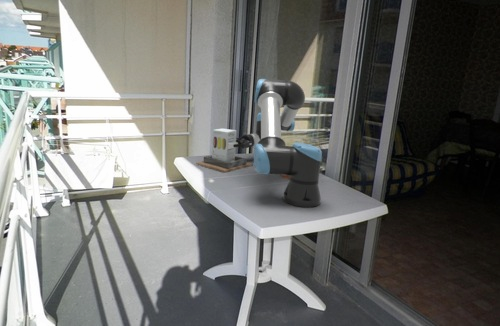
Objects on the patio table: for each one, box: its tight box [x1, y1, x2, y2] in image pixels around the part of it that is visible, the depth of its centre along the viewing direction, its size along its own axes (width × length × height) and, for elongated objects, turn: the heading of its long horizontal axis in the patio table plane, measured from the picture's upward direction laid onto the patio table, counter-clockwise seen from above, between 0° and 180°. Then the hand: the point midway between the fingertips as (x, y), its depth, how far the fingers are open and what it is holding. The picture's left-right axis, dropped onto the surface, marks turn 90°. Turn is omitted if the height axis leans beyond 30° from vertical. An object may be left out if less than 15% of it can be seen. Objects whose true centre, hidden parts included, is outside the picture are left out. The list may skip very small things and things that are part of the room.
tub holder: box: [195, 154, 254, 174], centre depth 188 cm, size 24×20×4 cm
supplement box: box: [211, 127, 237, 162], centre depth 184 cm, size 10×9×17 cm
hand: (220, 144), depth 182 cm, fingers closed on supplement box, 11 cm apart
